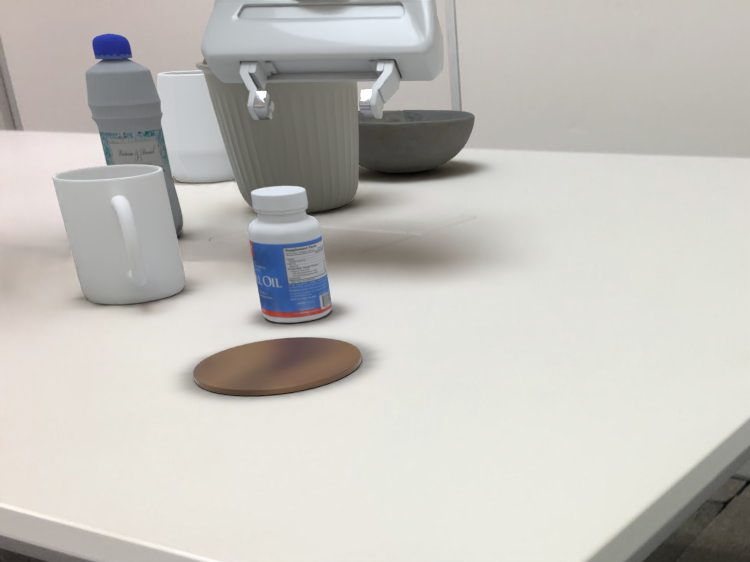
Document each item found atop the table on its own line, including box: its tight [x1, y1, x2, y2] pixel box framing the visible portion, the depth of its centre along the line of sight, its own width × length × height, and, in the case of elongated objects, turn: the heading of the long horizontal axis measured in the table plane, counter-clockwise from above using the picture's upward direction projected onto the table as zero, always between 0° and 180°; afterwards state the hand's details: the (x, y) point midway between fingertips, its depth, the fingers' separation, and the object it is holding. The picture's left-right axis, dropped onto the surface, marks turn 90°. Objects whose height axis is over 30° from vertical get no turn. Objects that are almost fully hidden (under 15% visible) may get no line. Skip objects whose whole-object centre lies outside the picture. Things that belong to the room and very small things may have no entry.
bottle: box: [84, 33, 184, 237], centre depth 104 cm, size 7×7×20 cm
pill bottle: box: [247, 186, 333, 324], centre depth 79 cm, size 6×5×10 cm
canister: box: [195, 58, 360, 214], centre depth 118 cm, size 18×18×21 cm
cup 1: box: [51, 164, 186, 305], centre depth 84 cm, size 8×12×10 cm
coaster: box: [192, 336, 362, 397], centre depth 70 cm, size 11×11×1 cm
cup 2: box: [156, 69, 235, 184], centre depth 141 cm, size 13×13×14 cm
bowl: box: [358, 109, 476, 174], centre depth 144 cm, size 21×21×8 cm
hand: (314, 114), depth 85 cm, fingers open, 8 cm apart
